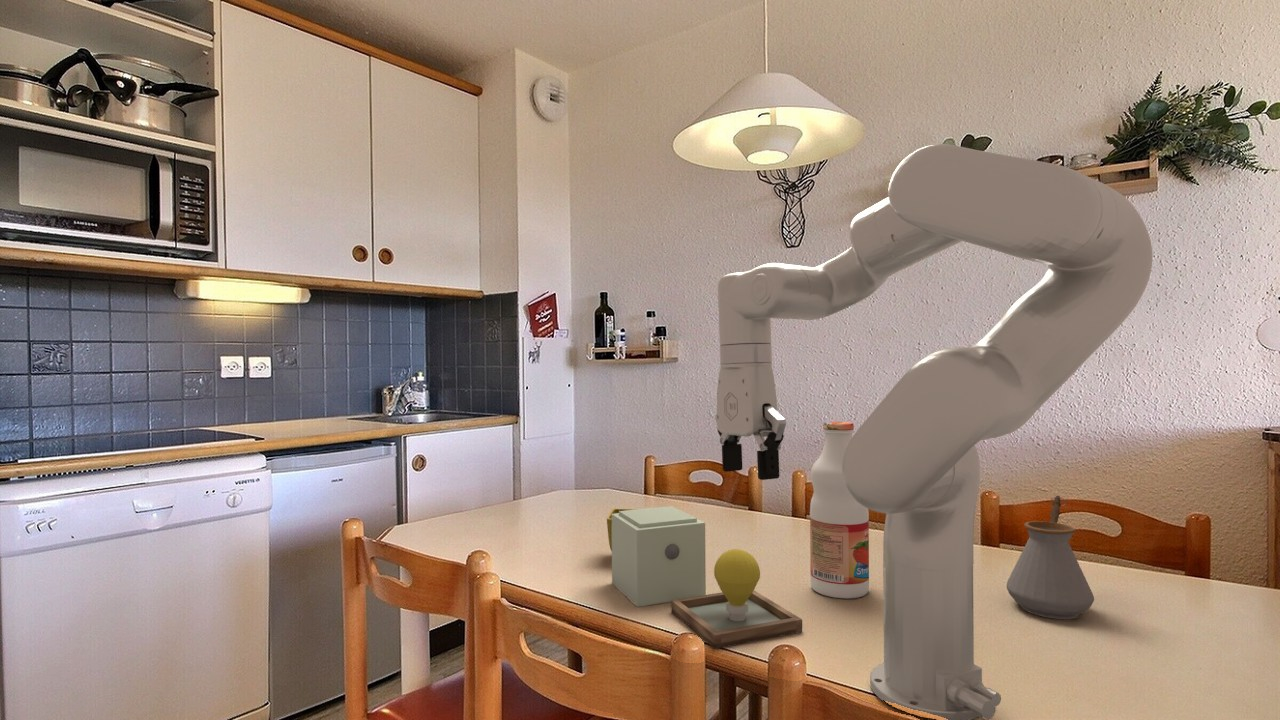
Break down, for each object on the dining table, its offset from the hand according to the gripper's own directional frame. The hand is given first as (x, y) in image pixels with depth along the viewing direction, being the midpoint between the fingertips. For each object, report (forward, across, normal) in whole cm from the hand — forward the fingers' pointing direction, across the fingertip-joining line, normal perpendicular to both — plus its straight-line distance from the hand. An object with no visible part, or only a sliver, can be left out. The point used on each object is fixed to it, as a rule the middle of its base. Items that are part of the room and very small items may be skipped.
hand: (749, 474), depth 97 cm
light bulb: (+21, -2, -2) cm, 21 cm away
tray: (+22, -2, -2) cm, 22 cm away
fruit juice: (+22, -7, +21) cm, 31 cm away
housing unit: (+21, -20, -7) cm, 30 cm away
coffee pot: (+23, +10, +49) cm, 55 cm away
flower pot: (+21, -37, -4) cm, 42 cm away
